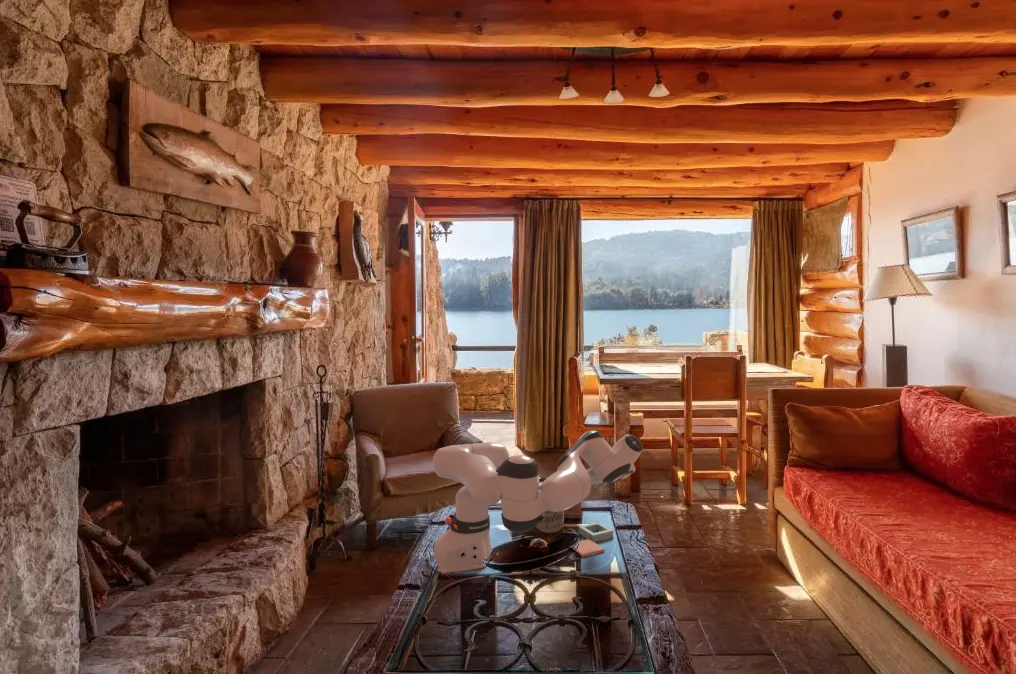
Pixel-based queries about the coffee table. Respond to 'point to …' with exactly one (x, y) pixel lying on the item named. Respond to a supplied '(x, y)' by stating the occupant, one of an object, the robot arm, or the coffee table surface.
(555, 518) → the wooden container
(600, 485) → the peg
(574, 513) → the lighter
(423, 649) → the coffee table surface
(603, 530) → the pocket holder
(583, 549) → the terracotta tile
